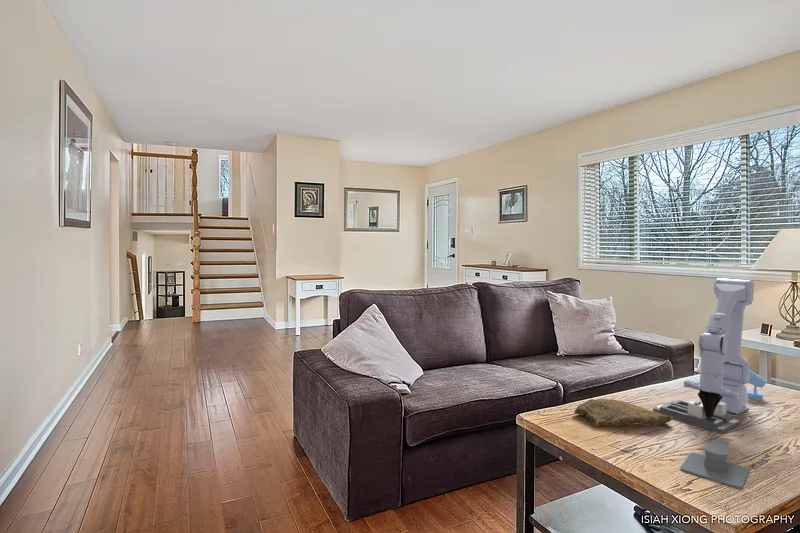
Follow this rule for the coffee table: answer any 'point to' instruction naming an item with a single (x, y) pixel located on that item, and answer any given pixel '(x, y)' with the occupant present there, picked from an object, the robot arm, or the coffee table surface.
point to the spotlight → (755, 381)
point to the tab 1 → (696, 409)
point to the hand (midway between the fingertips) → (709, 416)
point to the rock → (618, 413)
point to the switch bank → (681, 413)
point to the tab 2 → (721, 409)
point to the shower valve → (716, 465)
